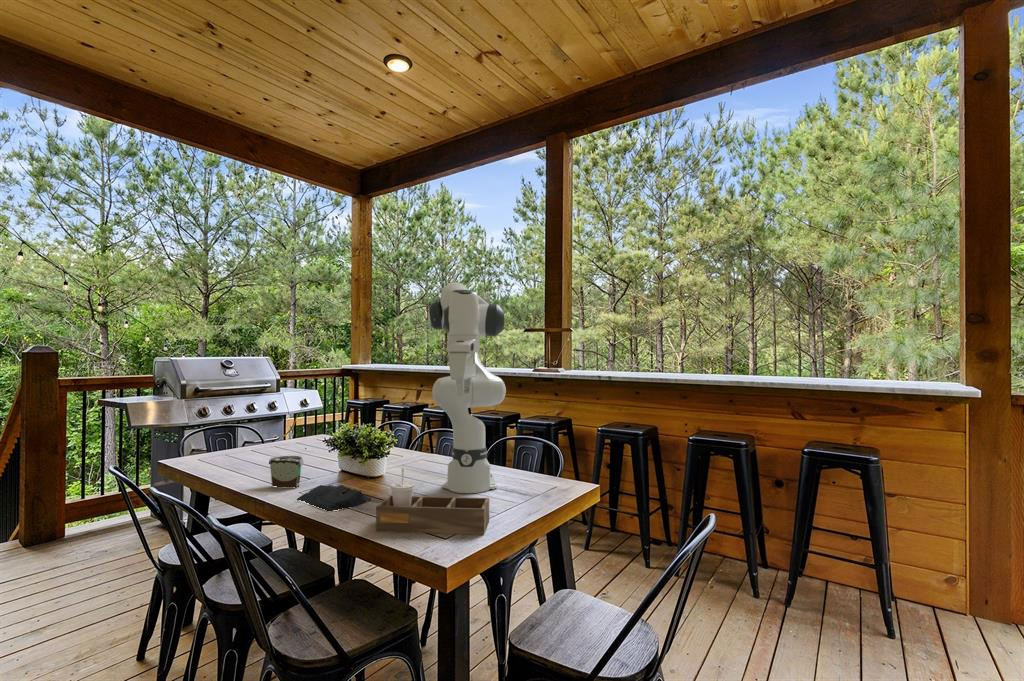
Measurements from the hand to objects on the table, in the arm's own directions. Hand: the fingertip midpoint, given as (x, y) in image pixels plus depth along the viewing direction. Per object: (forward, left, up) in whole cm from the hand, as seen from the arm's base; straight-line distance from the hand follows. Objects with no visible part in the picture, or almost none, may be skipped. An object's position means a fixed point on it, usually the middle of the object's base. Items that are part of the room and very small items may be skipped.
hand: (463, 394), depth 141 cm
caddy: (+6, -7, -35) cm, 36 cm away
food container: (-30, -68, -35) cm, 82 cm away
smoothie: (+5, -16, -34) cm, 38 cm away
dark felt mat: (-15, -45, -36) cm, 59 cm away
